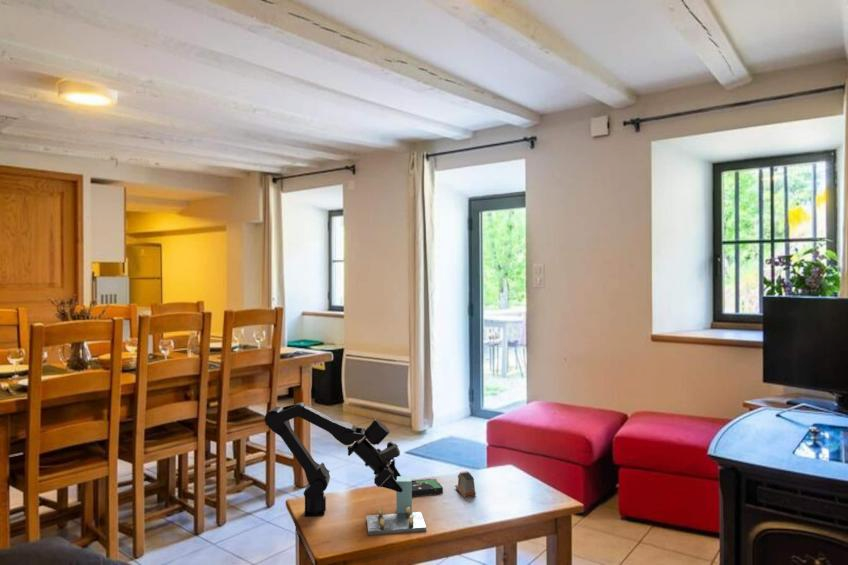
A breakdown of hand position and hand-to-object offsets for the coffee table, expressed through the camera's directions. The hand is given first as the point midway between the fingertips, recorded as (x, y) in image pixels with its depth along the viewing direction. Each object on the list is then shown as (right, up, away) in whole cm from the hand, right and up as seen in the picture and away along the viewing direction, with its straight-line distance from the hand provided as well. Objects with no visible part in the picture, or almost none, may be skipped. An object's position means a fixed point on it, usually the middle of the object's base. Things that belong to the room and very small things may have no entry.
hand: (402, 486), depth 195 cm
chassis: (-2, -9, -11) cm, 14 cm away
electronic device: (+22, -9, +17) cm, 29 cm away
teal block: (+1, -8, 0) cm, 9 cm away
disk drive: (+6, -9, +19) cm, 22 cm away
